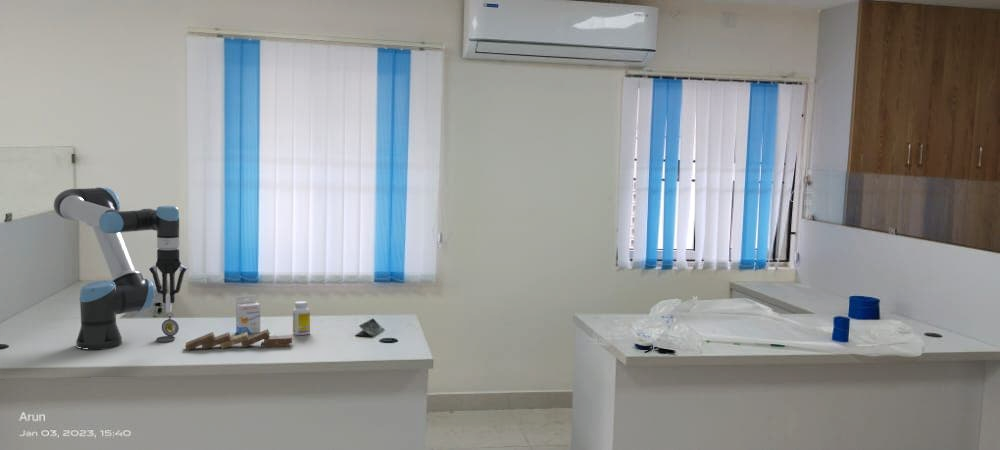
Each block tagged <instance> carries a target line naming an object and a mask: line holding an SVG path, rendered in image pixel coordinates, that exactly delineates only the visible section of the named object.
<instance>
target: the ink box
mask: <svg viewBox="0 0 1000 450" xmlns="http://www.w3.org/2000/svg"><path fill="white" fill-rule="evenodd" d="M235 300H236V301H235V302H236V303H235V322H236V323H235V326H236V328H235V332H236V334H237V335H239V334H242V333H245V332H247V333H248V335H249V334H257V333H260V332H261V304H260V303H258V302H257V294H250V295H237V296H236V299H235Z"/></svg>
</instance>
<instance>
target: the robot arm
mask: <svg viewBox="0 0 1000 450" xmlns="http://www.w3.org/2000/svg"><path fill="white" fill-rule="evenodd" d="M120 208H121V206H120V199H119V197H118V195H117V193H116V192H115V191H114V190H112V189H111V188H108V187H95V188H94V187H93V188H92V187H91V188H89V187H88V188H70V189H66V190H63V191H61V192H60V193H58V194H57V195H56V197H55V198H54V201H53V209H54V211H55V213H56V214H57V215H58V216H60V217H61V218H62V219H66V220H69V221H81V222H83V223H86V225H87V226H89V227H92V229H93V232H94V234H95V237H96V239H97V242H98V246H99V247H100V250H101V252H102V254H103V257H104V260H105V262H106V264H107V267H108V270H109V273H110V275H111V277H112V280H101V281H100V280H99V281H94V282H90V283H88V284H85V285H83V286H82V287H81V288H80V292H79V302H80V303H79V305H80V328H79V333H78V335H77V337H76V342H75V343H76V347H77V346H78V347H81V348H88V349H98V350H103V349H102V348H107V349H111V347H112V348H116V347H118V346H120V345H122V343H123V339H122V338H123V337H122V334H121V332H120V330H119V327H118V324H117V315H121V314H127V313H134V312H140V311H142V310H146V309H149V308H151V306H152V305H153V304H154V300H155V297H156V295H155V294H156V293H155V290H156V292H157V293H158V294H161V295H162V303H163V304H165V313H166V314H168V313H171V312H172V311H173V309H172V306H173V305H172V304H174V303H175V298H176V297H175V294H179V292H180V291H181V288H182V287H181V286H182V285H183V280H184V275H185V273H186V271H187V269H188V267H187V266H184V265H182V262H181V261H180V249H179V248H180V214H179V213H180V212H179V211H180V210H179V208H178V207H177V206H174V205H161V206H160V205H159V206H158V207H156V209H152V208H141V209H140V210H126V211H124V210H123V211H120V210H121V209H120ZM140 231H156V248H157V250H156V259H157V260H156V262H155V265H152V266H150V268H149V271H150V273H151V274H152V277H153V280H154V282H153V281H152V280H150V279H148V278H144V276H143V274H142V272H140V271H137V270H136V268H135V265H134V263H133V261H132V258H131V256H130V253H129V250H128V248H127V245H126V244H125V240H124V238H123V236H122V233H128V232H129V233H131V232H140ZM158 270H159V272H160V273H161V279H162V280H161V281H162V283H161V281H160V277H159V274H158V273H159V272H158ZM178 270H179V275H178V279H177V283H176V284H175V276H176V272H177V271H178ZM168 274H169V275H168ZM168 276H169V293H168ZM153 283H154V284H155V285H154V284H153Z"/></svg>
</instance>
